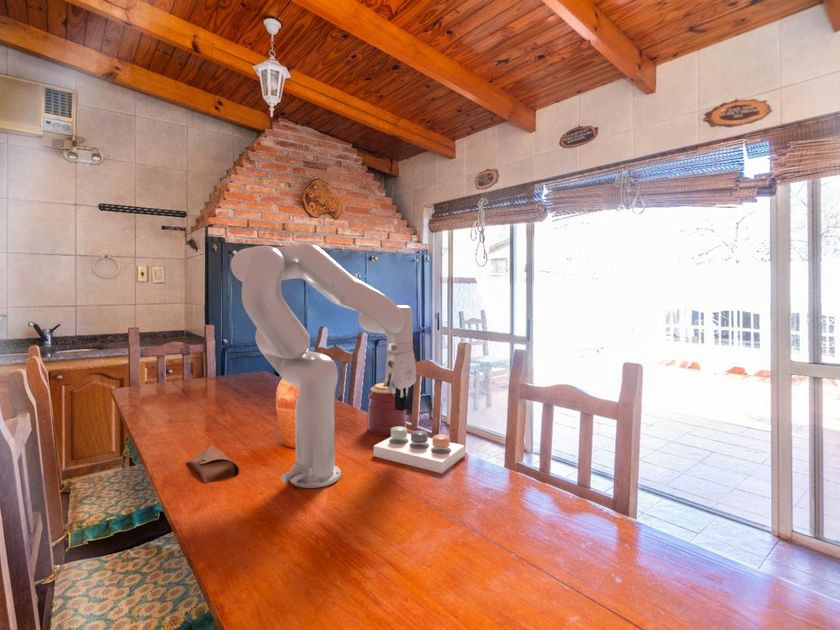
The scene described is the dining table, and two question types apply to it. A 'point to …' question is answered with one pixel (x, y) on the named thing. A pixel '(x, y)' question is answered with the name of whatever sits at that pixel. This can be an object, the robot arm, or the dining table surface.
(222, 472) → the sunglasses case
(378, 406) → the canister
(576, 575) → the dining table surface
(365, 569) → the dining table surface
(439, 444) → the terracotta button
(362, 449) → the dining table surface
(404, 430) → the sage button
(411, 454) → the panel
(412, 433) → the charcoal button
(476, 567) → the dining table surface
